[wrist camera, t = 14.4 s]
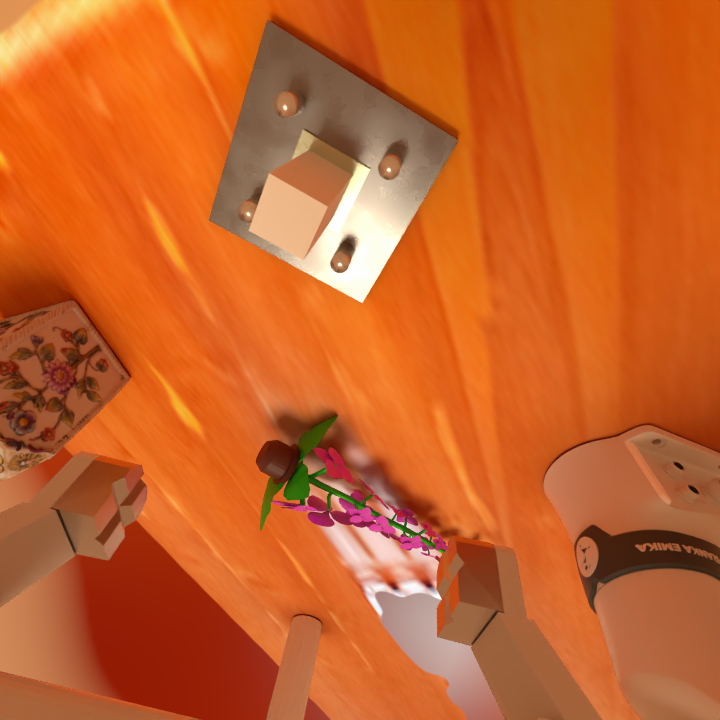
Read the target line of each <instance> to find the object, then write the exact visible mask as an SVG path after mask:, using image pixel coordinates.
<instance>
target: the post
mask: <svg viewBox="0 0 720 720" xmlns="http://www.w3.org/2000/svg"><path fill="white" fill-rule="evenodd" d="M352 177H353V175H351V174H349V173H347V172H346V171H344V170H342V169H341V168H339V167H337V166H336V165H334V164H332V163H330V162H329V161H327V160H325V159H324V158H322V157H320V156H319V155H317V154H315V153H313V152H312V151H310V150H308V151H306V152H304V153H303V154H301V155H299V156H297V157H296V158H294V159H292V160H291V161H289V162H287V163H286V164H284V165H282V166H280V167H279V168H277V169H275V170H274V171H272V172H270V173H269V175H268V177H267V180H266V183H265V186H264V189H263V192H262V194H261V197H260V200H259V203H258V206H257V209H256V211H255V214H254V217H253V220H252V223H251V225H250V228H249V231H250V232H252V233H254V234H256V235H258V236H259V237H261V238H263V239H265V240H267V241H269V242H270V243H272V244H274V245H276V246H278V247H280V248H282V249H283V250H285V251H287V252H289V253H291V254H293V255H294V256H296V257H298V258H300V259H302V260H304V259H305V257H306V256H307V254H308V253H309V252H310V250H311V249H312V247H313V246H314V244H315V243H316V242H317V240H318V239H319V237H320V236H321V235H322V233H323V232H324V230H325V229H326V227H327V226H328V225H329V223H330V222H331V220H332V219H333V217H334V215H335V213H336V210H337V208H338V206H339V204H340V202H341V200H342V198H343V196H344V193H345V191H346V189H347V187H348V185H349V183H350V181H351V179H352Z"/></svg>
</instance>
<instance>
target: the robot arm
mask: <svg viewBox="0 0 720 720" xmlns="http://www.w3.org/2000/svg"><path fill="white" fill-rule="evenodd" d="M655 439H656V440H655ZM143 474H144V472H143V469H142V465H138V464H134V463H130V462H126V461H122V460H117V459H113V458H109V457H105V456H102V455H97V454H93V453H88V452H84V451H82V452H80V453H78V454H76V455H75V456H73V457H72V459H70V461H69V462H68V463H67V464H66V465H65V466H64V467H63V468H62V469H61V470H60V471H59V472H58V473H57V474H56V475H55V476H54V477H53V479H51V481H50V482H49V483H48V484H47V485H46V486H45V487H44V488H43V489H42V490H41V491H40V492H39V493H38V494H37V495H36V496H35V497H34V498H33V499H32V500H31V501H30V503H20V504H18V505H16V506H14V507H12V508H10V509H8V510H5V511H3V512H1V513H0V607H1V606H3V605H4V604H6V603H7V602H9V601H10V600H12V599H13V598H14V597H16V596H17V595H19V594H20V593H21V592H23V591H25V590H26V589H28V588H29V587H30V586H32V585H33V584H35V583H36V582H38V581H39V580H41V579H42V578H43V577H45V576H46V575H48V574H49V573H51V572H52V571H53V570H55V569H57V568H58V567H59V566H61V565H62V564H64V563H65V562H67V561H68V560H70V559H71V558H72V557H74V556H75V554H80V555H84V556H89V557H94V558H99V559H104V560H109V559H110V558H111V556H112V555H113V553H114V552H115V550H116V549H117V547H118V546H119V544H120V543H121V541H122V540H123V538H124V537H125V529H124V527H125V526H127V525H128V524H130V523H132V522H134V521H135V520H136V519H137V517H138V516H139V514H140V513H141V511H142V509H143V507H144V504H145V501H146V499H147V486H146V484H145V483H144V482H143V481H142V480H141V479H140V478H141V477H142V476H143ZM544 492H545V494H546V496H547V498H548V500H549V501H550V503H551V504H552V506H553V507H554V509H555V510H556V512H557V514H558V515H559V517H560V519H561V521H562V523H563V525H564V527H565V529H566V531H567V533H568V535H569V537H570V539H571V542H572V544H573V546H574V550H575V556H576V562H577V566H578V571H579V574H580V577H581V581H582V584H583V587H584V590H585V593H586V596H587V599H588V602H589V605H590V607H591V609H592V610H593V611H594V612H595V613H596V614H597V616H598V619H599V623H600V626H601V629H602V632H603V636H604V639H605V642H606V645H607V649H608V652H609V655H610V658H611V662H612V665H613V668H614V671H615V675H616V678H617V681H618V684H619V688H620V690H621V692H622V694H623V696H624V697H625V699H626V701H627V702H628V704H629V705H630V707H631V708H632V709H633V710H634V712H635V713H636V714H637V715H638V716H639V717H640V718H641V719H642V720H720V453H719V452H716V451H714V450H711V449H709V448H706V447H704V446H701V445H699V444H697V443H694V442H692V441H689V440H687V439H684V438H682V437H679V436H677V435H674V434H672V433H669V432H667V431H664V430H662V429H659V428H657V427H654V426H651V425H643V426H639V427H637V428H634V429H632V430H630V431H628V432H626V433H623V434H622V435H620V436H617V437H613V438H608V439H603V440H598V441H594V442H590V443H587V444H584V445H581V446H579V447H576V448H574V449H572V450H570V451H569V452H567V453H565V454H564V455H562V456H561V457H560V458H558V459H557V460H556V461H555V462H554V463H553V464H552V465H551V467H550V468H549V470H548V471H547V473H546V475H545V478H544ZM437 591H438V593H439V594H440V596H441V598H442V600H441V602H440V603H439V605H438V608H437V637H440V638H443V639H447V640H451V641H455V642H458V643H462V644H466V645H470V646H472V647H471V649H472V651H473V653H474V655H475V657H476V660H477V662H478V664H479V666H480V668H481V670H482V672H483V674H484V676H485V678H486V680H487V682H488V685H489V687H490V689H491V691H492V693H493V695H494V697H495V699H496V701H497V703H498V705H499V708H500V710H501V712H502V714H503V716H504V718H505V720H602V719H601V717H600V716H599V714H598V713H597V711H596V710H595V708H594V707H593V706H592V704H591V703H590V701H589V700H588V698H587V697H586V695H585V694H584V693H583V691H582V690H581V688H580V687H579V685H578V684H577V682H576V681H575V680H574V678H573V677H572V675H571V674H570V672H569V671H568V669H567V668H566V667H565V665H564V664H563V662H562V661H561V659H560V658H559V656H558V655H557V654H556V652H555V651H554V649H553V648H552V646H551V645H550V643H549V642H548V641H547V639H546V638H545V636H544V635H543V633H542V632H541V630H540V629H539V628H538V626H537V625H536V623H535V622H534V620H531V619H528V618H527V614H526V609H525V603H524V598H523V592H522V587H521V581H520V576H519V570H518V565H517V559H516V554H515V552H514V550H513V549H511V548H508V547H504V546H499V545H494V544H491V543H488V542H483V541H478V540H473V539H468V538H464V537H459V536H452V537H451V538H450V540H449V542H448V551H445V552H443V554H442V556H441V558H440V561H439V566H438V570H437ZM0 720H200V719H195V718H191V717H187V716H183V715H179V714H175V713H171V712H167V711H162V710H158V709H154V708H150V707H146V706H142V705H138V704H134V703H129V702H125V701H121V700H117V699H113V698H109V697H104V696H100V695H96V694H92V693H88V692H84V691H80V690H76V689H71V688H67V687H63V686H59V685H55V684H51V683H47V682H42V681H38V680H34V679H30V678H26V677H22V676H17V675H14V674H9V673H5V672H1V671H0Z"/></svg>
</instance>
